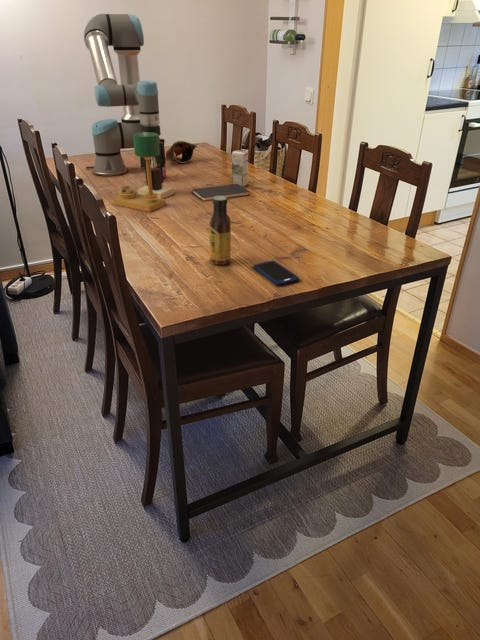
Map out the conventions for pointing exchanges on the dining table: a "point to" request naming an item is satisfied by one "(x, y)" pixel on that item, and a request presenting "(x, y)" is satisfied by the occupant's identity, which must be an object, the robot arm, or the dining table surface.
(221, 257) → the sauce bottle
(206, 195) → the notebook
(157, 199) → the lamp base
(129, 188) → the lamp switch
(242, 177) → the syrup box
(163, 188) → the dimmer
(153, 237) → the dining table surface
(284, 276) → the cell phone
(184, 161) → the pot
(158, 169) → the dark brown cylinder
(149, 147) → the lamp
